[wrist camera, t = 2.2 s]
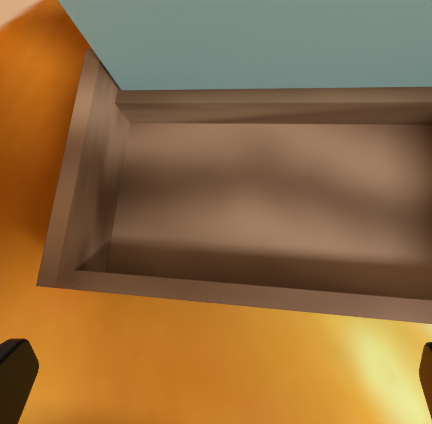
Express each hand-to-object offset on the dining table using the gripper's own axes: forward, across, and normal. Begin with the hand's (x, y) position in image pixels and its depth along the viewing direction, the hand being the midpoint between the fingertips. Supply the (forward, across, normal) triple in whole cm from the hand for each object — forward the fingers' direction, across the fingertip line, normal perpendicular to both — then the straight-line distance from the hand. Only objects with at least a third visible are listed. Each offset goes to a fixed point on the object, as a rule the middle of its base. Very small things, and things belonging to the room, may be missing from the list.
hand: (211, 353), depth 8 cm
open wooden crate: (+15, -3, +4) cm, 16 cm away
